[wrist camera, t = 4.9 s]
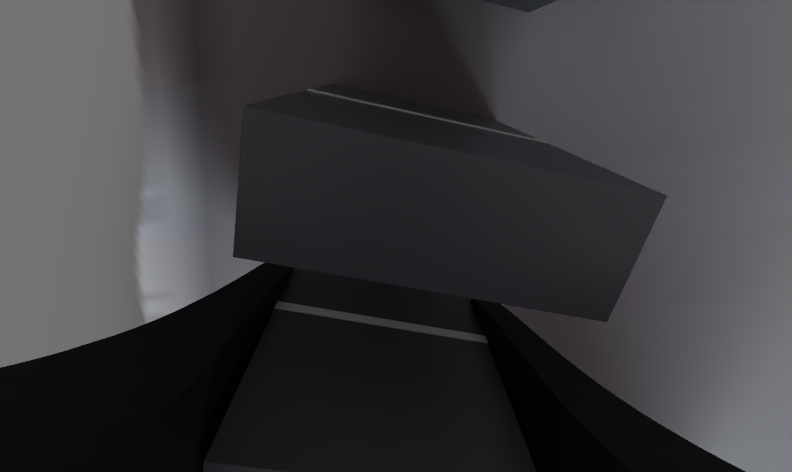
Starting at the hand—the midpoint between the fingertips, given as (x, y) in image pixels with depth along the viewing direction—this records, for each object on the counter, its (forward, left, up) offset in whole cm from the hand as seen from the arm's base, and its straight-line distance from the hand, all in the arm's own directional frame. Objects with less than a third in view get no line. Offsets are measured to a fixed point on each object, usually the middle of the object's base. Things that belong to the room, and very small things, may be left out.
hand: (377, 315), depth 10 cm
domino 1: (+4, 0, -2) cm, 5 cm away
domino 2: (0, 0, -2) cm, 2 cm away
